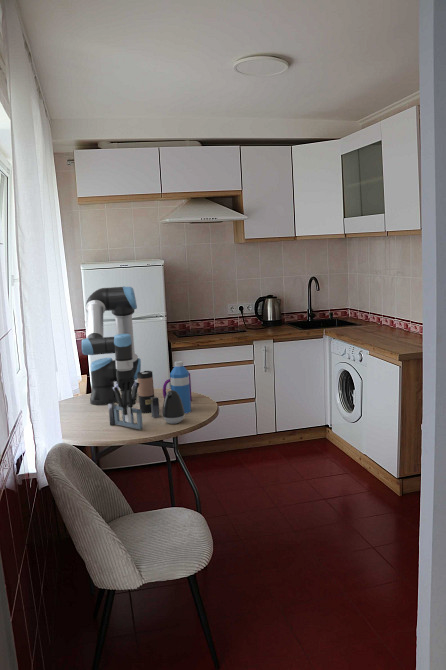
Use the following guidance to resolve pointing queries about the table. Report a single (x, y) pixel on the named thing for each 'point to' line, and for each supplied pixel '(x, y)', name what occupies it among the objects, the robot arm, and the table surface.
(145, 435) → the table surface
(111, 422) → the hinge post
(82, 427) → the table surface
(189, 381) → the mug
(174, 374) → the water bottle
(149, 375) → the travel mug
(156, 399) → the latch post
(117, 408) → the gate
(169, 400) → the pump dispenser
